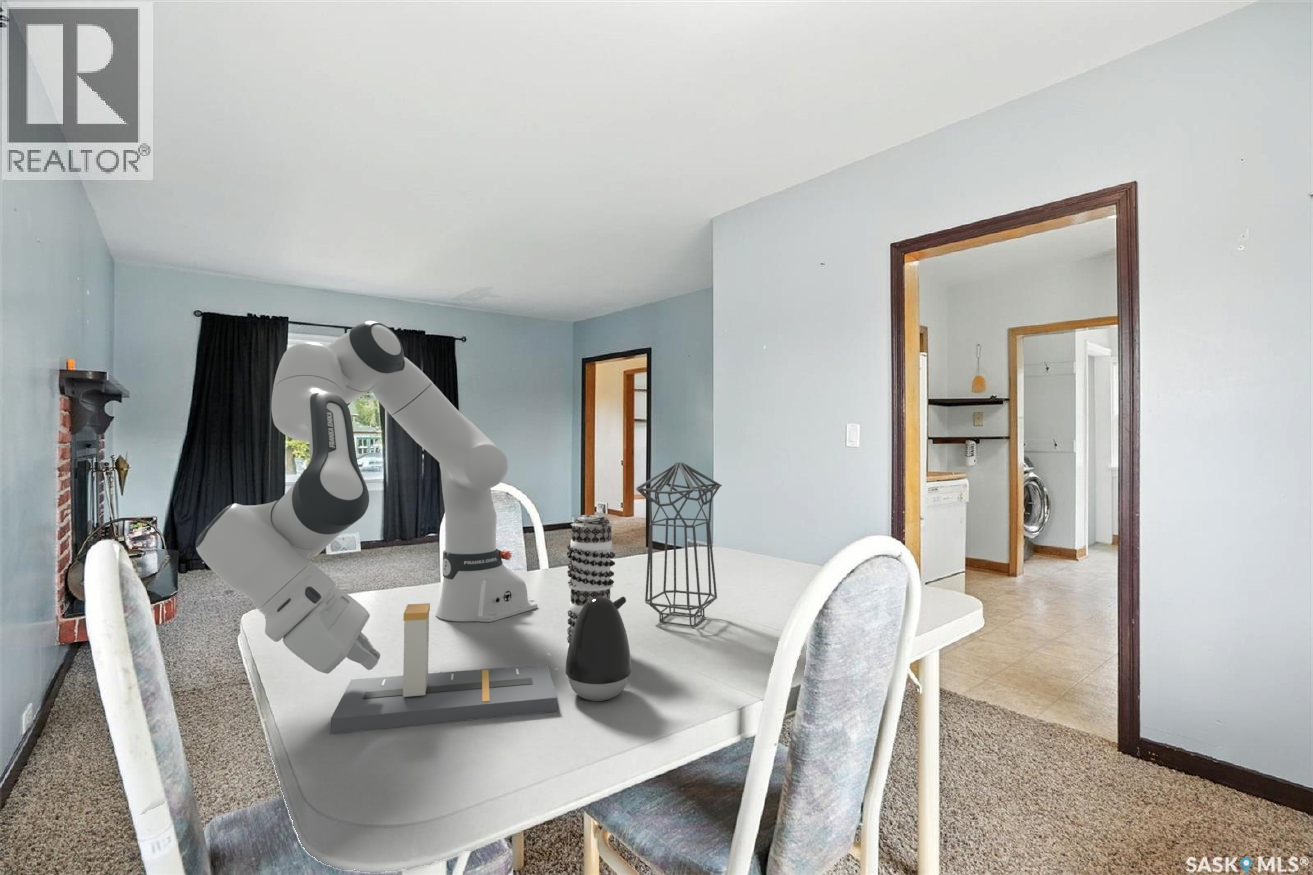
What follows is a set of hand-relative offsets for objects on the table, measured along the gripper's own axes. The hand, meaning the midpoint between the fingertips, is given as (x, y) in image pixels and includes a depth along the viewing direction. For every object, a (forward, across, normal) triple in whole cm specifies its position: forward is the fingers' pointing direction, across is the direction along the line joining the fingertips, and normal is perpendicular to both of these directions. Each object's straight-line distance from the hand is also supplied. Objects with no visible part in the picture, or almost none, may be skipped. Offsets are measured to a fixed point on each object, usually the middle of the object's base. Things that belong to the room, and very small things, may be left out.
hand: (375, 663), depth 92 cm
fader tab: (+7, 0, +1) cm, 7 cm away
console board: (+12, 0, +3) cm, 12 cm away
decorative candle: (+30, -20, +20) cm, 41 cm away
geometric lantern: (+45, -34, +35) cm, 66 cm away
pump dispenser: (+28, +2, +18) cm, 33 cm away
